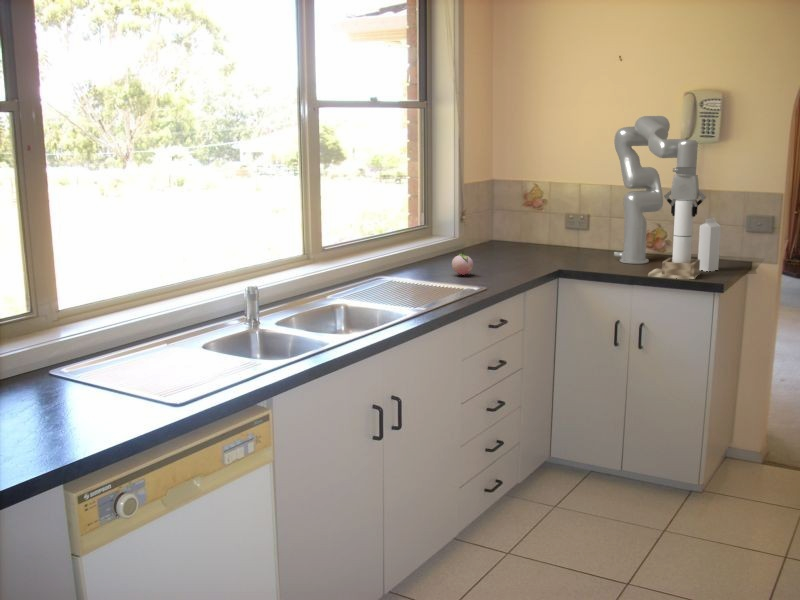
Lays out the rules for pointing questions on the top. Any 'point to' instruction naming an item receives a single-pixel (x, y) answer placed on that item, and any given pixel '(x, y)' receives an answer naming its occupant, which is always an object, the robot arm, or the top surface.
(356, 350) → the top surface
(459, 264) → the decorative fruit
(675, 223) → the cylindrical container
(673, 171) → the robot arm
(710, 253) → the milk
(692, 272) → the board
